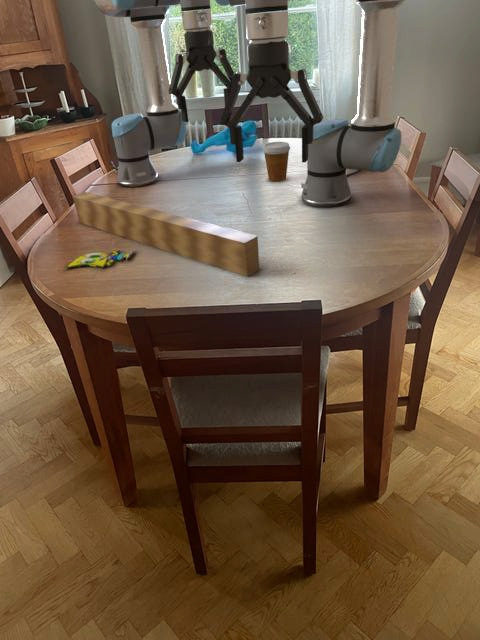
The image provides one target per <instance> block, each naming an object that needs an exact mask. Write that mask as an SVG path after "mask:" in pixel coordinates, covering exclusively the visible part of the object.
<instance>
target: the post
mask: <svg viewBox="0 0 480 640" xmlns="http://www.w3.org/2000/svg"><path fill="white" fill-rule="evenodd" d="M72 200H73V203H74V206H75V207H74V208H75V211H76V215H77V218H78V222H79V224H81V225H85V226H88V227H92V228H94V229H97V230H101V231H104V232H107V233H110V234H113V235H115V236H120V237H123V238H126V239H129V240H131V241H135V242H138V243H142V244H144V245H147V246H150V247H152V248H153V247H154V248H156V249H160V250H163V251H167V252H169V253H172V254H176V255H179V256H181V257H184V258H188V259H190V260H194V261H198V262H200V263H204V264H206V265H210V266H213V267H216V268H219V269H222V270H224V271H228V272H231V273H234V274H238V275H239V276H244V277H250V276H251V275H252V274H254V273H256V272H257V271H259V270H260V255H259V254H260V253H259V238H258V237H259V236H258V235H257V234H256V235H255V234H251V233H247V232H243V231H240V230H237V229H236V230H235V229H232V228H228V227H224V226H220V225H216V224H212V223H208V222H205V221H200V220H196V219H192V218H188V217H184V216H181V215H177V214H172V213H169V212H166V211H161V210H158V209H153V208H150V207H146V206H142V205H137V204H135V203H130V202H126V201H123V200H118V199H114V198H110V197H106V196H102V195H100V194H99V195H98V194H95V193H91V192H87V191H83V192H81V193H78V194H74V195H73V196H72Z"/></svg>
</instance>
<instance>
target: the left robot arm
mask: <svg viewBox="0 0 480 640" xmlns="http://www.w3.org/2000/svg"><path fill="white" fill-rule="evenodd" d="M92 2H93V4H94V7H95V9H97V11H99V12H100V13H102V14H103V15H106V16H109V17H113V18H130V24H131V25H132V26H133V27H134V28H135V29H136V32H137V39H138V43H139V44H138V45H139V50H140V55H141V56H140V57H141V61H142V62H141V63H142V67H143V73H144V79H145V85H146V91H147V97H148V103H149V104H148V105H149V106H148V108H147V109H146V116H143V114H142V113H140V112H139V113H138V112H137V113H130V114H126V115H123V116H120V117H118V118H115V119H114V120H113V121H112V122H111V132H112V138H113V141H114V146H115V151H116V155H117V160H118V167H117V166H115V165H114V163H113V160H112V161H111V160H110V161H109V165H110V166H111V167H112V169H114V170H116V171H117V183H118V186H120V187H123V188H124V187H125V188H136V187H137V188H138V187H145V186H147V185H148V186H149V185H151V184H154V183H156V182H157V181H158V180H159V176H158V172H157V169H156V168H155V166H154V163H153V161H152V159H151V156H150V151H154V150H160V149H164V148H173V147H175V146H180V145H182V144H183V143H184V142H185V140H186V136H187V123H189V115H188V107H187V100H186V99H187V98H186V95H184V93H185V91H186V89H187V87H188V85H189V83H190V81H191V80H192V78H193V76H194V74H195V73H196V72H202V71H211V72H212V73H213V74H214V75H215V76H216V77H217V78H218V79H219V81H220V82H221V83H222V84H223V85H224V86H225V88H223V99H224V106H225V105H226V102H227V99H228V96H229V93H230V90H231V88H232V75H233V74H234V73H235V71H234V69H233V67H232V66H231V64H230V62H229V60H228V56H227V52H226V51H227V50H226V48H218V49H216V50H215V40H214V31H213V30H212V29H211V28H212V27H213V19H212V18H213V17H212V10H211V0H92ZM170 6H171V7H172V6H175V7H178V6H180V11H181V19H182V20H181V21H182V29H183V30H184V31H185V32H184V34H183V36H184V45H185V50H186V51H185V54H181V53H176V54H175V56H174V58H175V59H174V60H175V65H174V68H173V72H172V76H171V78H170V72H169V64H168V59H167V51H166V45H165V38H164V37H165V36H164V32H163V25H164V23H165V22H166V15H167V14H169V12H170ZM216 57H217V59H219V62H220V64H221V66H222V67H223V70H224V72H225V73H224V72H223V71H222V70H221V68H220V67H219V65H218V64H217V63H216V62H215V60H216ZM186 61H187V63H188V65H187V67H186V68H185V69H186V70H185V73H184V74H183V76H182V78H181V75H182V71H183V68H184V64H185V63H186ZM180 79H181V80H180ZM173 96H175V99H176V103H174V99H173Z"/></svg>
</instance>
